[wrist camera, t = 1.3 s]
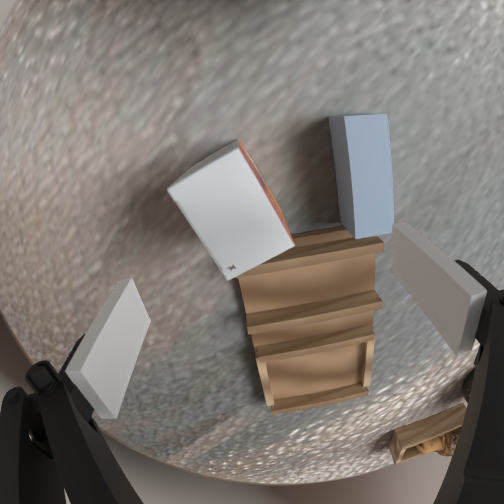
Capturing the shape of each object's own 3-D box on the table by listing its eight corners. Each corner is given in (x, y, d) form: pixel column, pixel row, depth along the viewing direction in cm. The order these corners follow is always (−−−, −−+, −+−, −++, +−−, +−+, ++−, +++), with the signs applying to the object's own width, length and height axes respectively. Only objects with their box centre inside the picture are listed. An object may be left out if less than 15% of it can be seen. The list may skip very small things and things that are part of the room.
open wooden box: (394, 429, 49) (402, 448, 45) (463, 402, 49) (472, 418, 44) (388, 447, 52) (395, 464, 48) (453, 422, 52) (461, 437, 47)
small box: (280, 207, 31) (298, 248, 21) (231, 233, 32) (227, 285, 22) (240, 136, 28) (239, 144, 18) (189, 166, 29) (164, 189, 19)
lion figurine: (453, 416, 50) (469, 445, 42) (441, 430, 52) (455, 458, 44) (404, 425, 49) (418, 459, 40) (392, 439, 51) (404, 473, 42)
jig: (232, 245, 32) (231, 259, 29) (370, 221, 32) (383, 233, 29) (267, 399, 42) (268, 418, 39) (365, 380, 42) (372, 396, 39)
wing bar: (339, 221, 32) (355, 239, 27) (327, 116, 28) (344, 116, 23) (374, 216, 32) (394, 232, 27) (365, 113, 27) (386, 113, 23)
